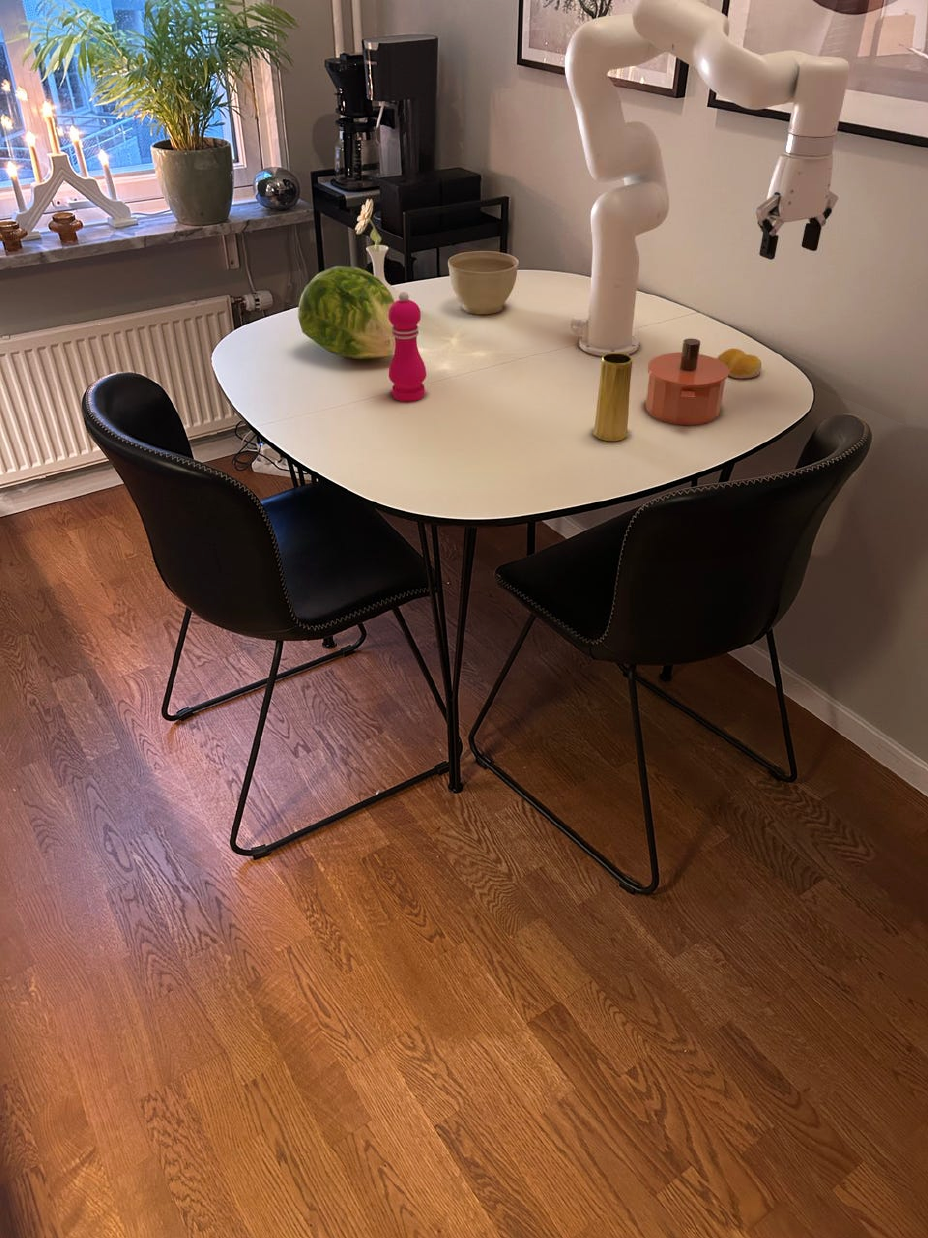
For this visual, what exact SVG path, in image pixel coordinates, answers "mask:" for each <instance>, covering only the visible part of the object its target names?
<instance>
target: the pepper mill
mask: <svg viewBox="0 0 928 1238" xmlns="http://www.w3.org/2000/svg"><path fill="white" fill-rule="evenodd" d="M388 317H389V321H390V322H391V324H392V325H393V327H392V331H393V332H392V335H393V336H394V337H395V352H394V353H393V356H392V359H391V361H390V364H389V368H388V378H389V381H390V382H391V383H392V384H393V385H392V386H391V391H392V392H391V393H392V397H393V398H394V399H395V400H397V401H400V402H415V401H418V400H419V401H420V400H421V399H423V398H424V396H425V395H426V394H425V384H424V381H425V380H426V378H427V369H426V365H425V362H424V360H423V358H422V355H421V354H420V352H419V348H418V341H417V339H418V338H417V337H418V336H419V334H420V332H419V328H420V327H419V325H418V324H419V322H420V321H421V318H422V314H421V308H420V307H419V305H418V304H417V303H416V302H415V301H413V300H410V299H409V294H408V293H407V292H405V291H402V292H401V291H400V294H399V300H398V301H396V302H394V303H393V304H392V305H391V306H390V308H389V312H388Z"/></svg>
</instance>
